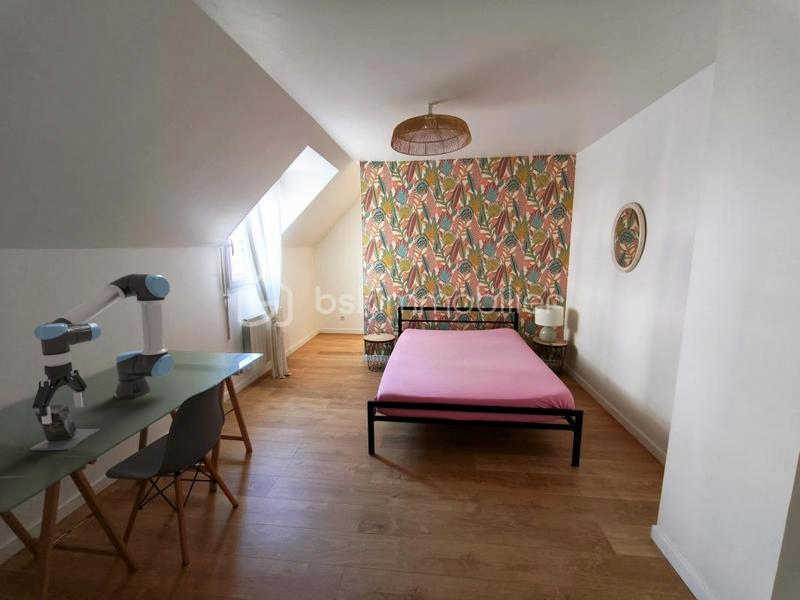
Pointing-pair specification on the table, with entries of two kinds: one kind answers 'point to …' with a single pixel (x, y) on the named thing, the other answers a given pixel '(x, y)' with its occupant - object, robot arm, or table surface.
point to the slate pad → (65, 441)
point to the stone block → (58, 424)
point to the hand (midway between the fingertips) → (64, 414)
